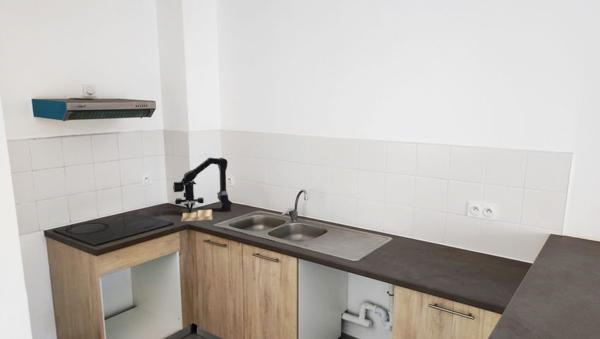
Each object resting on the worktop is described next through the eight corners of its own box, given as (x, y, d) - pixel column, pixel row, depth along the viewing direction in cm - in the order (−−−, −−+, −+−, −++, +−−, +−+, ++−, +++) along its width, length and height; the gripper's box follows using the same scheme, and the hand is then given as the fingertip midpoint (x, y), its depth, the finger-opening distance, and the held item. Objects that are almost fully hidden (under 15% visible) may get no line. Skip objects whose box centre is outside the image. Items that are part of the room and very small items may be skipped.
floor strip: (212, 217, 284) (212, 216, 284) (212, 221, 276) (212, 219, 276) (182, 219, 280) (182, 217, 280) (181, 223, 272) (181, 221, 272)
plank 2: (211, 210, 290) (211, 209, 290) (212, 217, 285) (211, 216, 284) (197, 211, 288) (197, 210, 288) (197, 218, 283) (197, 216, 282)
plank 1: (197, 213, 289) (197, 211, 288) (197, 218, 282) (196, 216, 282) (183, 214, 287) (182, 212, 286) (182, 219, 281) (182, 217, 280)
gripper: (203, 187, 293) (204, 209, 296) (176, 188, 290) (177, 210, 292) (203, 191, 283) (203, 213, 285) (174, 192, 279) (175, 214, 282)
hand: (190, 212), depth 286 cm, fingers closed, pressing on plank 1
